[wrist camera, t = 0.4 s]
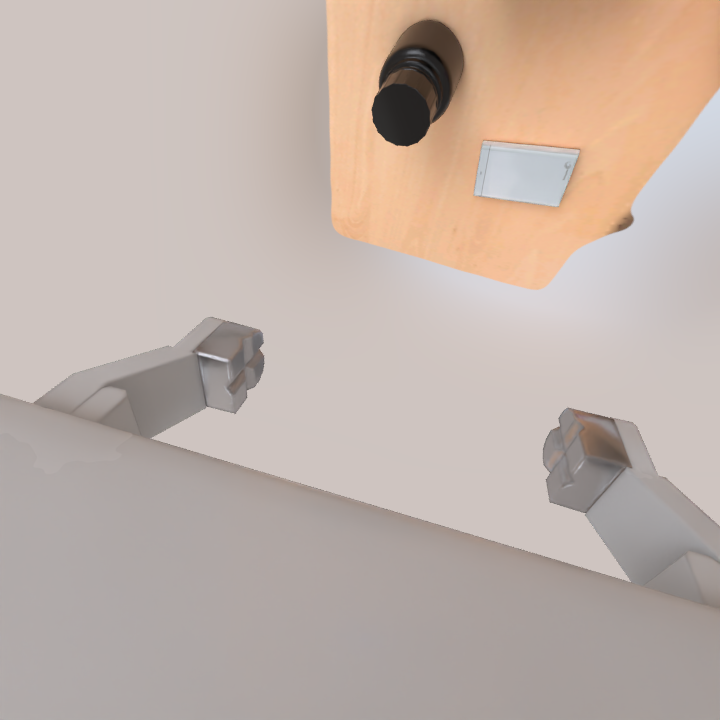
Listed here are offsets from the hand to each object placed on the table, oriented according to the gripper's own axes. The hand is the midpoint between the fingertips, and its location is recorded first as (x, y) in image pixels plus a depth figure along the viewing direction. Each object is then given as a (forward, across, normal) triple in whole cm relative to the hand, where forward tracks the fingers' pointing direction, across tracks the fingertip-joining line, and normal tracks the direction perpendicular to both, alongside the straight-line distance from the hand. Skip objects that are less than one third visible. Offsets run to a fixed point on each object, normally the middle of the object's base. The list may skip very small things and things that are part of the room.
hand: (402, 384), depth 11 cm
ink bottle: (+54, +7, -7) cm, 54 cm away
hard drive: (+57, -9, +4) cm, 58 cm away
